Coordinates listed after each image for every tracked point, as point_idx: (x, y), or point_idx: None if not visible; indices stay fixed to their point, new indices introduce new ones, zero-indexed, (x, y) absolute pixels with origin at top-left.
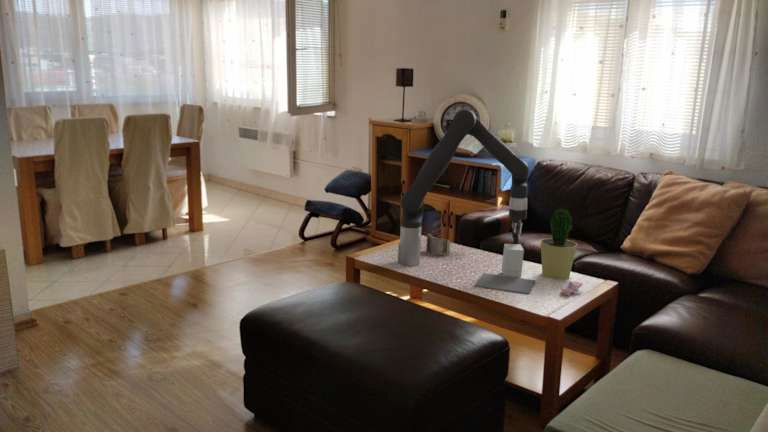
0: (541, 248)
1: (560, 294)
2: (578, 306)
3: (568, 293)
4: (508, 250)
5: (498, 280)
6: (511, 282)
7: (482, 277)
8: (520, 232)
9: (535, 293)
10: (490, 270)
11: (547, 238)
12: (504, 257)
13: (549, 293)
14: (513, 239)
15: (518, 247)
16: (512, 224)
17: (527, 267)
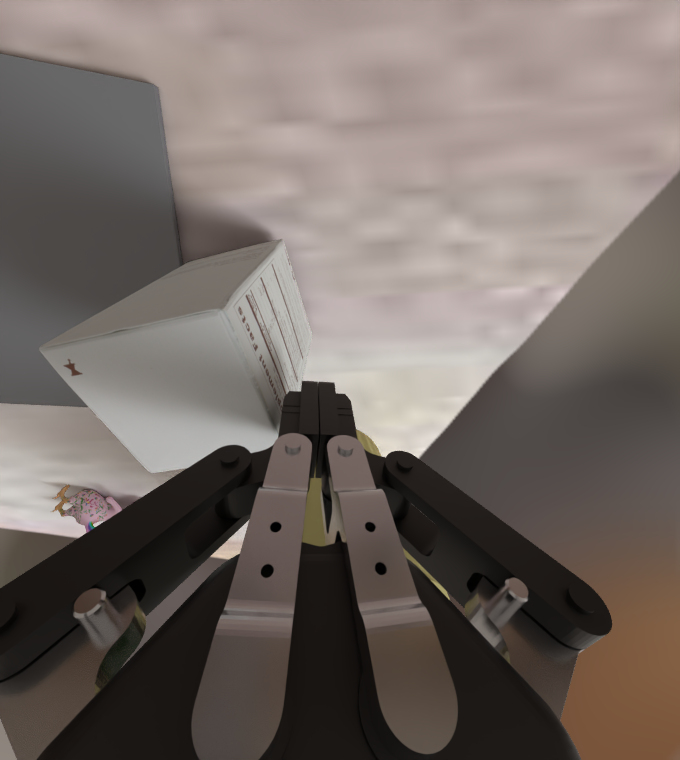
0: (309, 534)
1: (62, 493)
2: (10, 526)
3: (73, 516)
4: (50, 358)
5: (51, 230)
6: (75, 313)
7: (19, 80)
8: (415, 526)
9: (25, 417)
10: (291, 149)
11: (437, 585)
12: (175, 284)
13: (76, 458)
14: (299, 424)
15: (183, 442)
16: (193, 715)
17: (417, 367)
